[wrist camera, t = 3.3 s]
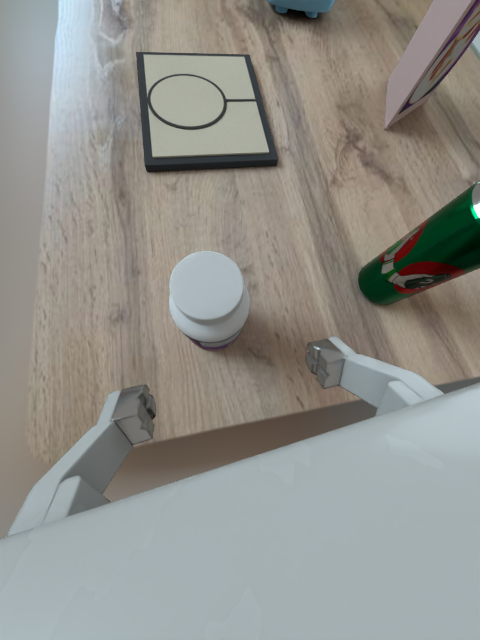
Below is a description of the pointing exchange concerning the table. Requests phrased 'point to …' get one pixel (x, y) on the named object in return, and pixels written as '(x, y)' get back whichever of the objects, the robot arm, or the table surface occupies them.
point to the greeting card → (431, 55)
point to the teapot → (303, 6)
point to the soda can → (428, 253)
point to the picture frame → (202, 112)
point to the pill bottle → (209, 299)
